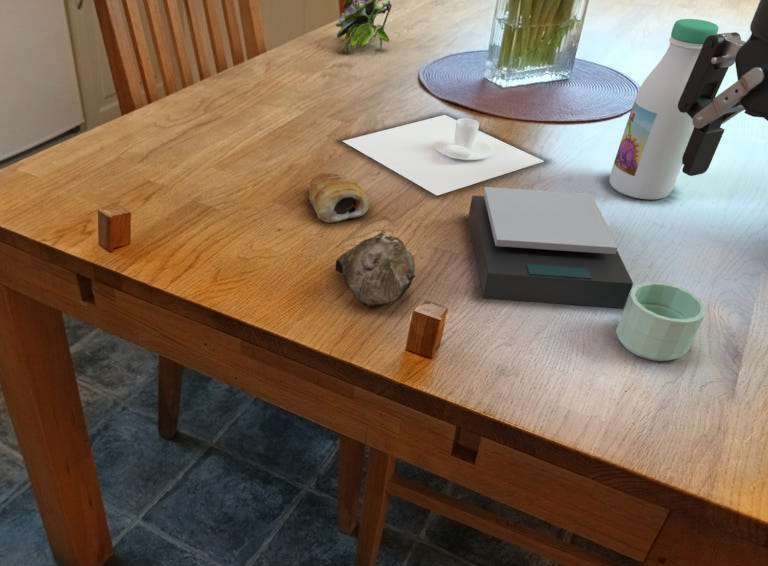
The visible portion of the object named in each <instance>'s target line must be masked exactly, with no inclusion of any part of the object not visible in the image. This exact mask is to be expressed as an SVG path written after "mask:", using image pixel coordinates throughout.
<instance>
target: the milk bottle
mask: <svg viewBox="0 0 768 566" xmlns="http://www.w3.org/2000/svg"><path fill="white" fill-rule="evenodd" d="M718 32H719V26H718V24H717V23H716V24H715V23H714V22H711V21H709V20H703V19H697V18H682V19H678V20H676V21H675V22H674V24H673V26H672V29H671V32H670V38H668V42H669V46H668V48H667V49H666V51H665V53H664V55H663V56H662V58H661V60H659V62H658V63H657V64H656V66H655V67H654V68H653V69H652V71H651V72H649V74H648V75H647V76H646V78H645V79H644V81H643V82H642V84H641V85H640V87H639V89H638V91H637V94H636V96H635V99H634V102H633V104H632V107H631V110H630V112H629V115H628V118H627V122H626V125H625V128H624V131H623V134H622V136H621V139H620V143H619V146H618V149H617V152H616V154H615V158H614V162H613V164H612V167H611V171H610V174H609V178H608V179H609V184H610V186H611V187H612V188H613V189H614V190H615V191H617V192H619V193H621V194H623V195H625V196H628V197H631V198H635V199H642V200H661V199H665V198H666V197H668V196H669V195H670V194H671V193H672V191H673V189H674V187H675V184H676V182H677V179H678V177H679V175H680V172H681V170H682V168H683V164H682V157H683V154H684V152H685V149H686V147H687V144H688V142H689V139H690V137H691V134H692V132H693V129H694V125H693V122H692V121H693V119H692V118H691V117H690V116H689V115H688V114H687V113H682V112H680V111H679V109H678V102H679V100H680V97H681V95H682V93H683V90H684V88H685V86H686V83H687V81H688V79H689V76H690V74H691V72H692V69H693V67H694V65H695V62H696V60H697V58H698V56H699V53H700V51H701V49H702V46H703V44H704V42H705V40H706V38H707V37H708V36H710V35H717V34H718Z"/></svg>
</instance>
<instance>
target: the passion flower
mask: <svg viewBox="0 0 768 566" xmlns="http://www.w3.org/2000/svg"><path fill="white" fill-rule="evenodd" d="M379 1H380V0H345V2H344V3H343V4H342V5H343V8H344V9H345V11H344V12H341V13H340V14H341V15H339V16H338V22H335V27H337V28H340V29H339V30H338V32H337V34H336V38H341V37H343V36H344V37H343V42H342V49H343V51H344V53H345V54H346V53H347V49H348V50H349V51H352V50H354V49H356V48H358V47H359V48H364V47H365V46H366V45H368V44H369V43H371V40H373V38H376V36H377V37H378V38H379V48H380V51H382V49H383V48H382V47H383V43H384V42H387V43H390V38H389V36H388V34H387V33H386V32H385V25H386V24H387V20H388V17H389V15H390V12H391V9H392V6H393V5H392V3H391V1H390V0H385V1H383V2H381V5H382V6H379ZM385 7H386V8H385ZM386 12H387V13H386ZM380 14H383V15H384V14H386V15H385V18H384V19H383V23H382V24H377V25H375V19H376V18H377V16H378V15H380ZM383 41H384V42H383Z"/></svg>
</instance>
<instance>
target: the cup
mask: <svg viewBox="0 0 768 566" xmlns="http://www.w3.org/2000/svg"><path fill="white" fill-rule="evenodd" d="M706 311H707V307H706V305H705V304H704V302H703V300H702V299H701V298H700V297H698V296H697V295H696V294H694V293H693V292H692V291H690V290H688V289H686V288H684V287H681V286H678V285H676V284H671V283H668V282H665V281H664V282H662V281H646V282H640V283H638V284H636V285H634V286H632V288H631V291H630V293H629V296H628V298H627V301H626V304H625V306H624V308H623V310H622V312H621V315H620V318H619V320H618V323H617V326H616V329H615V334H616V337H617V339H618V341H619V342H620V343H621V345H622V347H624V348H625V349H626V350H627V351H629V352H630V353H632V354H634V355H635V356H637V357H640V358H642V359H645V360H649V361H655V362H669V361H673V360H675V359H680V358H682V357H683V356H685V354H687V353H688V352H689V349H690V347H691V345H692V343H693V341H694V339H695V337H696V335H697V333H698V331H699V328H700V326H701V324H702V322H703V321H704V318H705V316H706Z"/></svg>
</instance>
